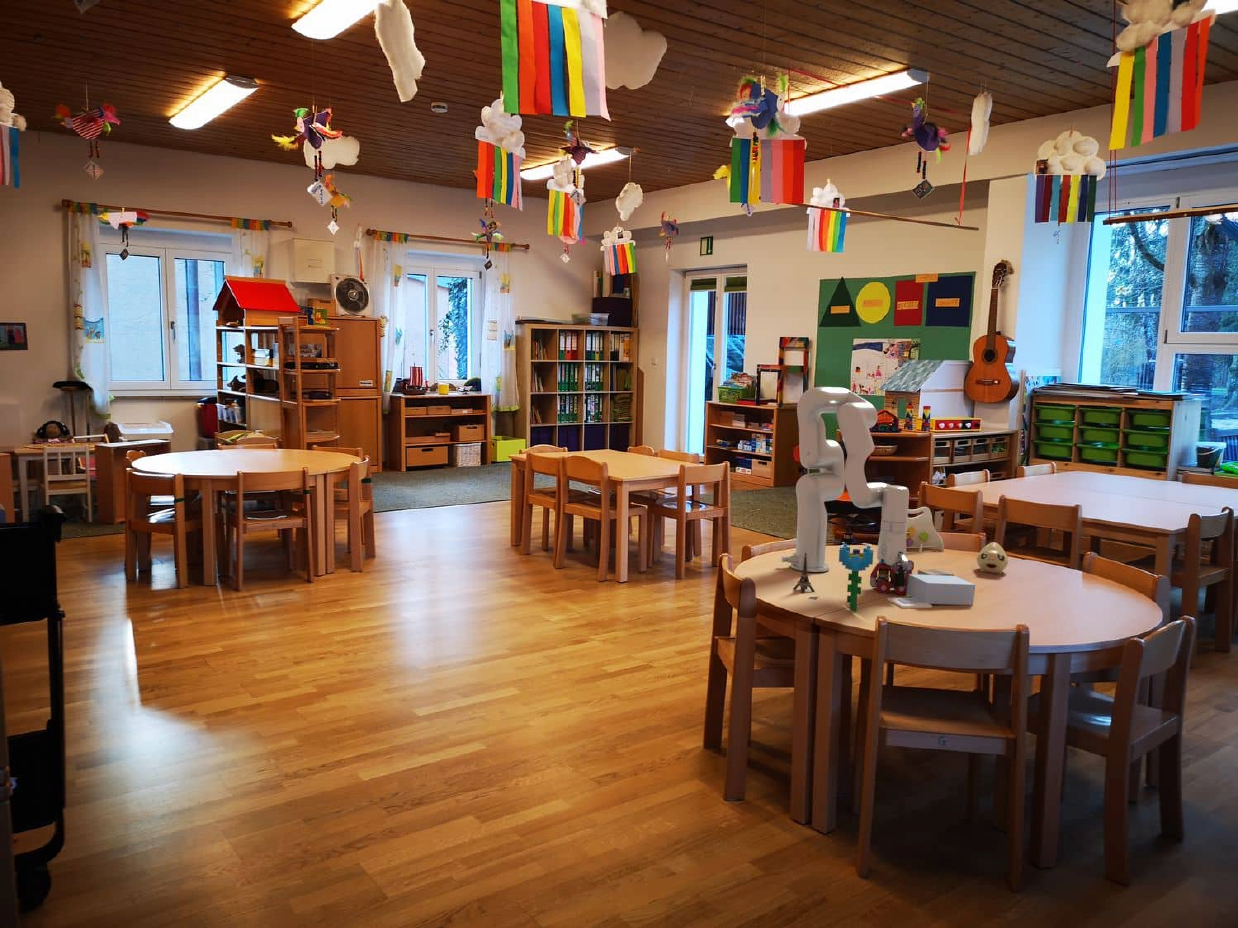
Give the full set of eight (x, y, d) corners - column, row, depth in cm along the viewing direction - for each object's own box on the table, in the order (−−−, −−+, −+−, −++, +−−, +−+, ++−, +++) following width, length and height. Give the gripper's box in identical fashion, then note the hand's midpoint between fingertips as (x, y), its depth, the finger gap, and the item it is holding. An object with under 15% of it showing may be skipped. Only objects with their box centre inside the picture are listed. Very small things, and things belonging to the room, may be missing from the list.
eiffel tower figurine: (816, 601, 255) (818, 556, 254) (782, 596, 260) (784, 552, 258) (827, 590, 269) (829, 547, 268) (794, 586, 273) (796, 543, 272)
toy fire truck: (868, 587, 272) (870, 554, 271) (910, 591, 269) (913, 557, 268) (869, 593, 265) (871, 559, 264) (913, 596, 262) (915, 562, 261)
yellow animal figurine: (974, 575, 292) (976, 544, 291) (976, 568, 303) (978, 538, 302) (1006, 579, 288) (1009, 547, 287) (1007, 572, 299) (1009, 541, 298)
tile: (902, 608, 248) (902, 604, 248) (887, 599, 257) (887, 596, 257) (931, 607, 250) (932, 604, 250) (916, 599, 259) (916, 596, 258)
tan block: (929, 594, 266) (930, 574, 265) (916, 588, 273) (917, 569, 272) (953, 593, 268) (954, 574, 267) (939, 587, 275) (940, 568, 274)
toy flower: (869, 615, 239) (873, 550, 237) (835, 612, 242) (839, 548, 240) (870, 607, 248) (873, 544, 246) (837, 604, 250) (840, 542, 248)
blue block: (925, 603, 251) (927, 582, 251) (906, 593, 262) (908, 574, 262) (973, 605, 254) (975, 584, 254) (952, 595, 265) (954, 575, 264)
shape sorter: (924, 550, 333) (927, 504, 331) (944, 556, 324) (947, 508, 322) (882, 553, 326) (884, 506, 324) (900, 559, 316) (903, 510, 315)
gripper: (869, 521, 273) (866, 575, 275) (896, 531, 256) (892, 589, 258) (892, 521, 274) (889, 575, 276) (919, 531, 257) (916, 589, 259)
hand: (890, 582), depth 267 cm, fingers open, 9 cm apart
